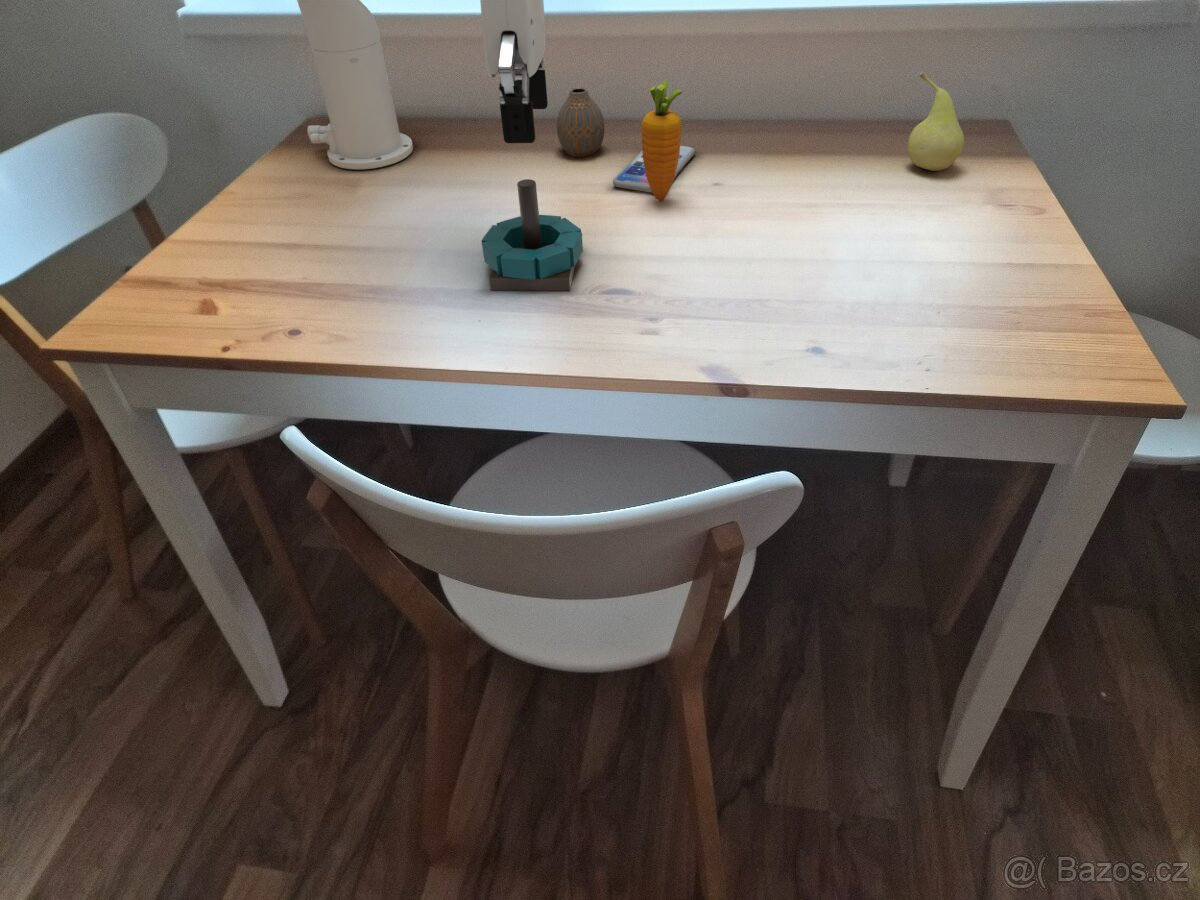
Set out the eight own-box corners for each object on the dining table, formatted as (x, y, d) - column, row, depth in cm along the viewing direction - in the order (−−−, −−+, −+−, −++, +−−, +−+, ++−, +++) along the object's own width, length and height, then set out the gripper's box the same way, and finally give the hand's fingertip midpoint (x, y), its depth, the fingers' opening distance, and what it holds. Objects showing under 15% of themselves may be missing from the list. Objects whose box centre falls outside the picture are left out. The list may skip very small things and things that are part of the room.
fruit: (949, 183, 106) (973, 88, 98) (892, 172, 109) (911, 79, 101) (962, 164, 110) (986, 72, 102) (907, 155, 113) (926, 64, 105)
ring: (473, 274, 90) (470, 255, 89) (504, 230, 98) (502, 211, 96) (565, 282, 88) (564, 263, 86) (590, 237, 96) (589, 218, 94)
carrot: (656, 190, 108) (657, 72, 98) (687, 199, 106) (691, 79, 96) (633, 204, 105) (632, 83, 95) (664, 213, 103) (666, 91, 93)
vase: (607, 143, 121) (605, 81, 115) (602, 161, 116) (600, 98, 110) (562, 143, 122) (557, 82, 116) (555, 161, 117) (550, 98, 111)
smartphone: (697, 146, 116) (661, 188, 106) (697, 153, 117) (661, 195, 107) (649, 140, 118) (609, 180, 108) (649, 146, 119) (609, 187, 109)
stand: (490, 290, 90) (477, 201, 83) (503, 251, 97) (492, 166, 90) (570, 290, 90) (563, 200, 83) (578, 251, 96) (572, 165, 89)
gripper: (486, -78, 82) (505, 97, 93) (449, -41, 69) (477, 157, 80) (559, -80, 81) (570, 96, 93) (536, -43, 68) (551, 156, 80)
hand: (527, 124), depth 86 cm, fingers open, 9 cm apart
